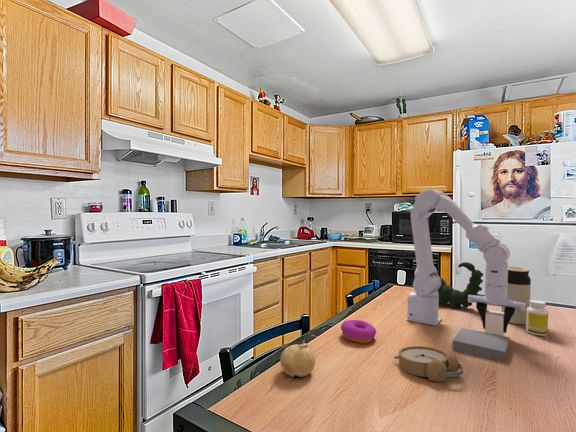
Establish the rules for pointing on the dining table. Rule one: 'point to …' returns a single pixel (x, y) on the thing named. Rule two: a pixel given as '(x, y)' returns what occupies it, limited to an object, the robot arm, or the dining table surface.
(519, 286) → the travel mug
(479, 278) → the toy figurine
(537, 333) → the supplement bottle
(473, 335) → the base block
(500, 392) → the dining table surface
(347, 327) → the donut
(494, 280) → the robot arm
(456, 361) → the alarm clock
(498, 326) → the ivory block
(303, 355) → the onion
